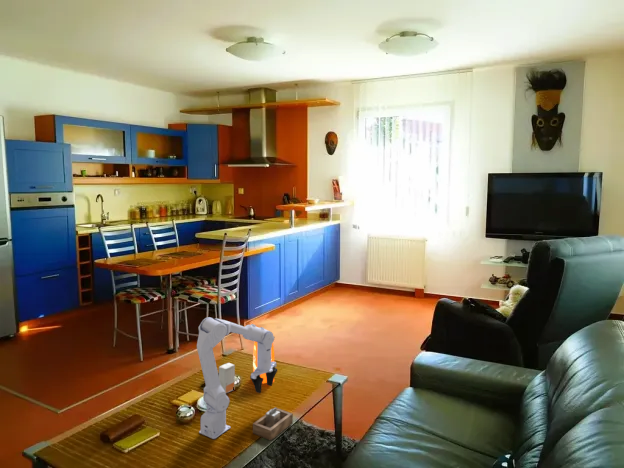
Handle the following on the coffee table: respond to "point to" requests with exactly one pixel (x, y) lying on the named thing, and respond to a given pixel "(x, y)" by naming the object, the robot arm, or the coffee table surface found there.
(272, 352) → the orange juice
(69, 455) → the coffee table surface
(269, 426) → the bracket
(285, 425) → the well block
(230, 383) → the skincare box
